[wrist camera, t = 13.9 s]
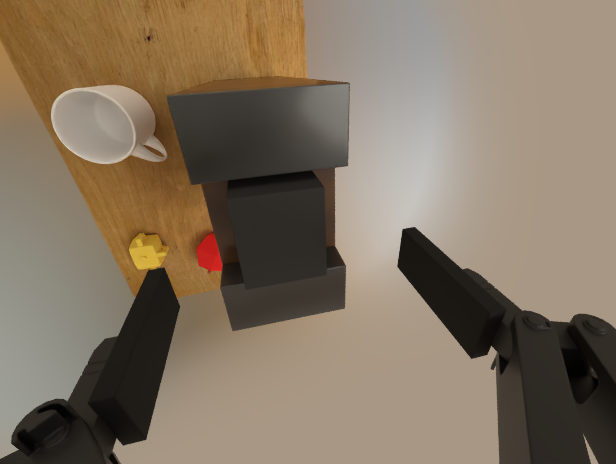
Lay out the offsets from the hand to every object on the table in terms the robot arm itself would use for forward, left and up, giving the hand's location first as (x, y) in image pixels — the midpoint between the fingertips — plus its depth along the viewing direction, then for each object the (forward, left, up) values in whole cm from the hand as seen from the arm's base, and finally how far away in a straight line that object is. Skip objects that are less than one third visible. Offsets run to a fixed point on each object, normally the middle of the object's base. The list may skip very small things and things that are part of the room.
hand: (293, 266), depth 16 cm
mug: (+9, -16, -38) cm, 42 cm away
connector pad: (0, 0, -8) cm, 8 cm away
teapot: (+28, -6, -38) cm, 47 cm away
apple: (+23, +4, -38) cm, 44 cm away
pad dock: (0, 0, -38) cm, 38 cm away
